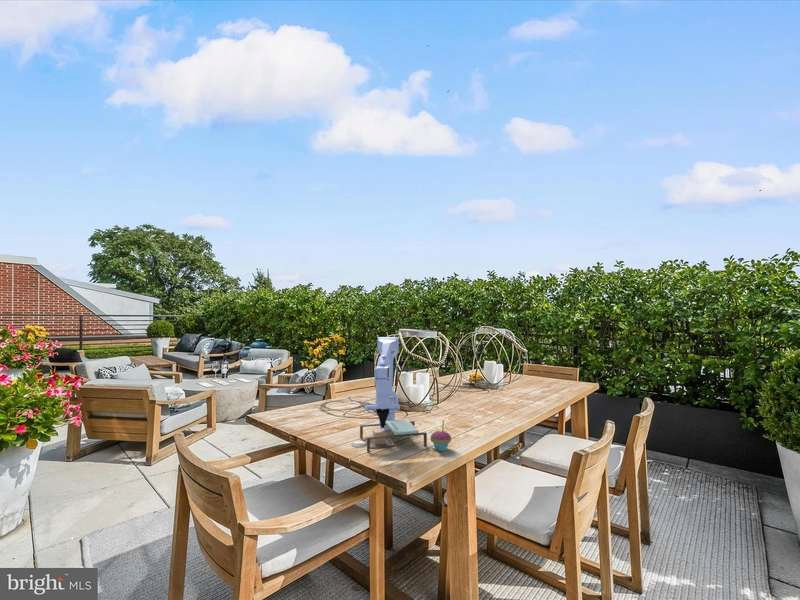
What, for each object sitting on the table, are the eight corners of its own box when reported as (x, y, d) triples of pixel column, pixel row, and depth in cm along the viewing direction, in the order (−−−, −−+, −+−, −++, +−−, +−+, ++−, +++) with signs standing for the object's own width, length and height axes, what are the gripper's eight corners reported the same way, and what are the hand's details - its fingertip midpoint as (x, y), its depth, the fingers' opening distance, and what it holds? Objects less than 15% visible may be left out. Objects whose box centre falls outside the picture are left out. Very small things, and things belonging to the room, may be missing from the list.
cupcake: (438, 444, 165) (438, 415, 166) (455, 448, 160) (455, 419, 160) (426, 449, 159) (426, 420, 159) (444, 454, 153) (444, 424, 154)
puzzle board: (347, 440, 169) (348, 426, 170) (413, 435, 177) (413, 421, 177) (353, 455, 152) (354, 439, 152) (426, 448, 160) (426, 433, 160)
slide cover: (385, 423, 173) (385, 420, 173) (407, 421, 176) (407, 419, 176) (395, 435, 157) (395, 432, 157) (418, 433, 160) (418, 430, 160)
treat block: (373, 441, 165) (373, 429, 166) (383, 440, 167) (383, 428, 167) (375, 444, 161) (375, 432, 161) (385, 443, 162) (385, 431, 162)
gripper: (366, 397, 160) (366, 430, 159) (401, 396, 162) (401, 429, 162) (364, 393, 167) (364, 425, 166) (398, 392, 169) (398, 424, 169)
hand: (382, 427), depth 164 cm, fingers closed
